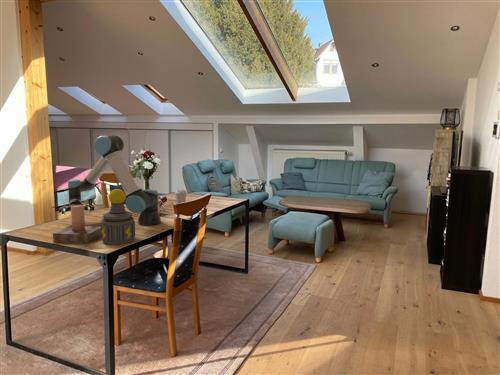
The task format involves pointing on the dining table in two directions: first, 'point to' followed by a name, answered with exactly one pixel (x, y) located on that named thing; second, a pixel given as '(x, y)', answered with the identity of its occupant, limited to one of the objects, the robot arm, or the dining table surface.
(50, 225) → the dining table surface
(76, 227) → the terracotta canister
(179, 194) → the coffee cup
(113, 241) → the decorative lamp
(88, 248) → the dining table surface
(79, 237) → the walnut plinth
